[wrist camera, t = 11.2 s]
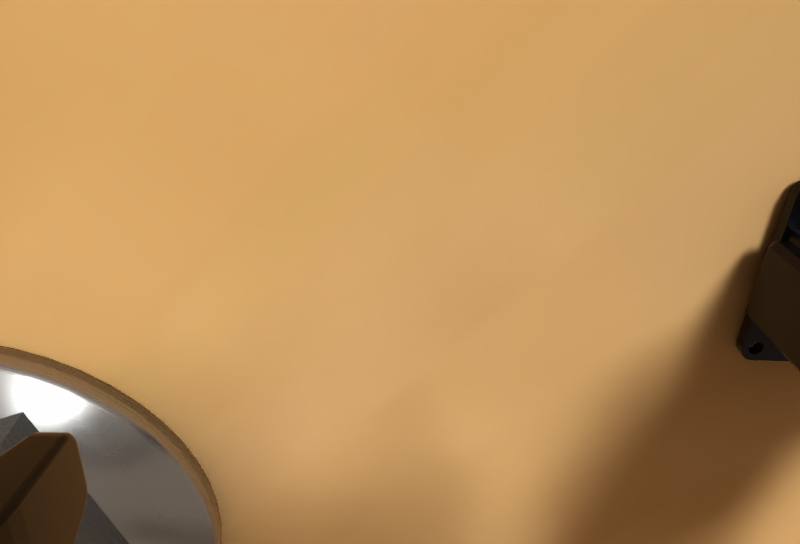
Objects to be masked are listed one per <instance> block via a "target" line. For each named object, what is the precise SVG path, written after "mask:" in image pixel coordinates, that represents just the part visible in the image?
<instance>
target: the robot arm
mask: <svg viewBox="0 0 800 544" xmlns="http://www.w3.org/2000/svg"><path fill="white" fill-rule="evenodd" d="M755 342H757V343H756V345H754V346H753V347H750V346H751V345H752V344H753V343H755ZM736 347H737V350H738V351H739V352H740V353H741V354H742V356H743V357H745V358H746V359H749V360H772V361H790V362H791V363H792V364H793V365H794V366H795V367H796V368H797V369H798V371H799V372H800V181H798V182H797V183H796V184H795V185H793V186H792V188H791V190H790V192H789V194H788V197H787V200H786V203H785V205H784V208H783V211H782V214H781V217H780V219H779V222H778V225H777V228H776V231H775V234H774V236H773V239H772V242H771V245H770V246H769V247H768V249H767V252H766V254H765V257H764V260H763V263H762V266H761V269H760V271H759V274H758V277H757V280H756V283H755V286H754V288H753V291H752V294H751V297H750V300H749V303H748V305H747V308H746V315H745V318H744V321H743V324H742V327H741V330H740V332H739V335H738V338H737V341H736ZM86 500H87V483H86V478H85V474H84V470H83V465H82V461H81V457H80V453H79V448H78V444H77V441H76V439H75V437H74V436H73V435H72V434H70V433H67V432H37V433H33V434H31V435H29V436H27V437H26V438H24V439H23V440H22V441H20V442H19V443H17V444H16V445H14V446H13V447H12V448H10V449H9V450H7V451H6V452H4V453H3V454H1V455H0V544H74V543H75V539H76V536H77V532H78V529H79V526H80V522H81V519H82V516H83V512H84V509H85V505H86Z"/></svg>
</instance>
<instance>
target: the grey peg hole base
mask: <svg viewBox="0 0 800 544" xmlns="http://www.w3.org/2000/svg"><path fill="white" fill-rule="evenodd" d="M37 432H67V433H70V434H72V435H73V436H74V437H75V439H76V441H77V444H78V448H79V453H80V457H81V461H82V465H83V470H84V474H85V478H86V483H87V500H86V505H85V509H84V512H83V516H82V519H81V522H80V526H79V529H78V532H77V536H76V539H75V543H74V544H221V519H220V513H219V508H218V503H217V500H216V497H215V495H214V492H213V489H212V487H211V484H210V482H209V480H208V478H207V477H206V475H205V473H204V471H203V470H202V468H201V466H200V464H199V462H198V461H197V460H196V458H195V457H194V456H193V455H192V453H191V452H190V451H189V449H188V448H187V447H186V446H185V444H184V443H183V442H182V441H181V440H180V439H179V438H178V437H177V436H176V435H175V434H174V433H173V432H172V431H171V430H170V429H169V428H168V427H167V426H166V425H165V424H164V423H163V422H162V421H161V420H160V419H159V418H157V417H156V416H155V415H153V414H152V413H151V412H150V411H148V410H147V409H146V408H145V407H143V406H142V405H141V404H139V403H138V402H137V401H135V400H133V399H132V398H130V397H129V396H127V395H125V394H124V393H122V392H121V391H119V390H117V389H116V388H114V387H113V386H111V385H109V384H107V383H105V382H103V381H101V380H99V379H97V378H95V377H93V376H91V375H89V374H87V373H85V372H83V371H81V370H78V369H76V368H73V367H70V366H68V365H65V364H62V363H60V362H57V361H55V360H52V359H49V358H46V357H43V356H39V355H36V354H32V353H28V352H25V351H21V350H18V349H14V348H9V347H3V346H0V455H1V454H3V453H4V452H6V451H7V450H9V449H10V448H12V447H13V446H14V445H16V444H17V443H19V442H20V441H22V440H23V439H24V438H26V437H27V436H29V435H31V434H33V433H37Z"/></svg>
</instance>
